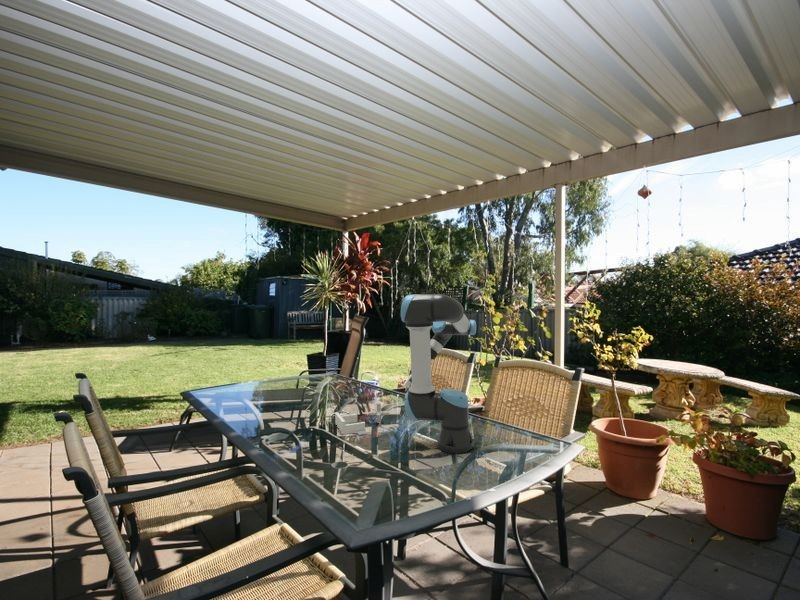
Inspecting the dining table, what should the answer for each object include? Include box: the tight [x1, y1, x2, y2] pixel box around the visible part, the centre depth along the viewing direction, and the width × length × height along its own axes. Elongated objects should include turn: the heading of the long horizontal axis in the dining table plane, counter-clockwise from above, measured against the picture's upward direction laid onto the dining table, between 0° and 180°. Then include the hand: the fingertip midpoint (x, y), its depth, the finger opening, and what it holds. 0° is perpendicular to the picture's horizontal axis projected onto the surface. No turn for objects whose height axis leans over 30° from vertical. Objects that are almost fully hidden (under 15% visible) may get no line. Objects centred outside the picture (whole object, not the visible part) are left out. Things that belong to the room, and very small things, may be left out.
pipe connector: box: [368, 402, 390, 424], centre depth 213 cm, size 10×10×10 cm
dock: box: [334, 411, 368, 437], centre depth 208 cm, size 26×11×6 cm, turn 21°
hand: (405, 386), depth 217 cm, fingers closed
